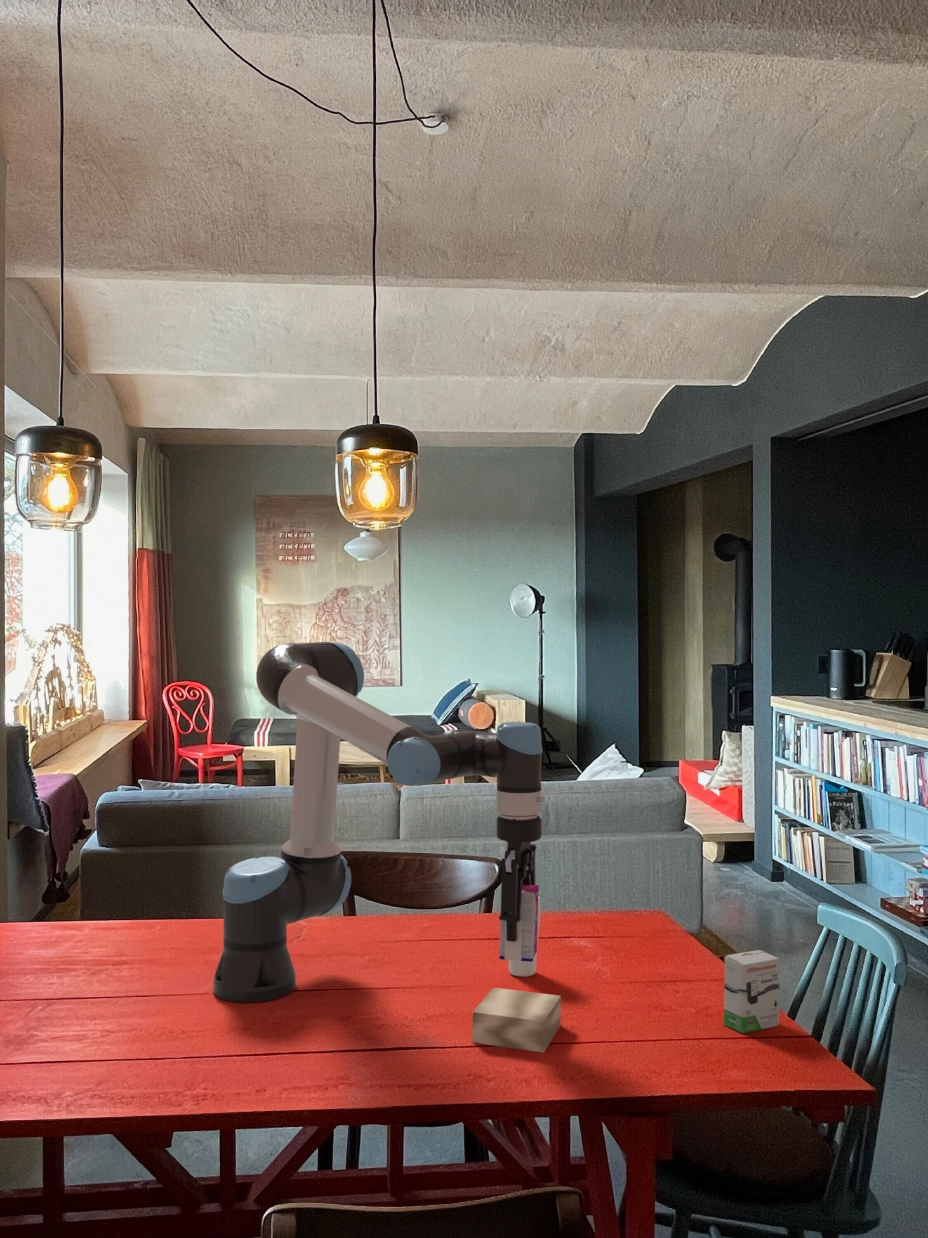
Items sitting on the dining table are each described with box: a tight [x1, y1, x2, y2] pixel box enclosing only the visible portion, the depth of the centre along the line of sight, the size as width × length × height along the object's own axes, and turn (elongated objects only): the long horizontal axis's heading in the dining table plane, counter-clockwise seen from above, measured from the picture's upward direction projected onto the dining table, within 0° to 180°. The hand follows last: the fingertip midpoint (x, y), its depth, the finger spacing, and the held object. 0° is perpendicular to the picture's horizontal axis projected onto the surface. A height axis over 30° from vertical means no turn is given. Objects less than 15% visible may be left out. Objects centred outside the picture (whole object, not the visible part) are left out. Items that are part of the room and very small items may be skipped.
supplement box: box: [498, 884, 540, 962], centre depth 174 cm, size 6×6×12 cm
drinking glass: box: [508, 895, 541, 978], centre depth 204 cm, size 7×7×15 cm
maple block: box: [472, 987, 562, 1054], centre depth 174 cm, size 12×12×5 cm
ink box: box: [723, 949, 781, 1034], centre depth 178 cm, size 9×5×12 cm, turn 117°
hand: (518, 953), depth 174 cm, fingers closed on supplement box, 6 cm apart
